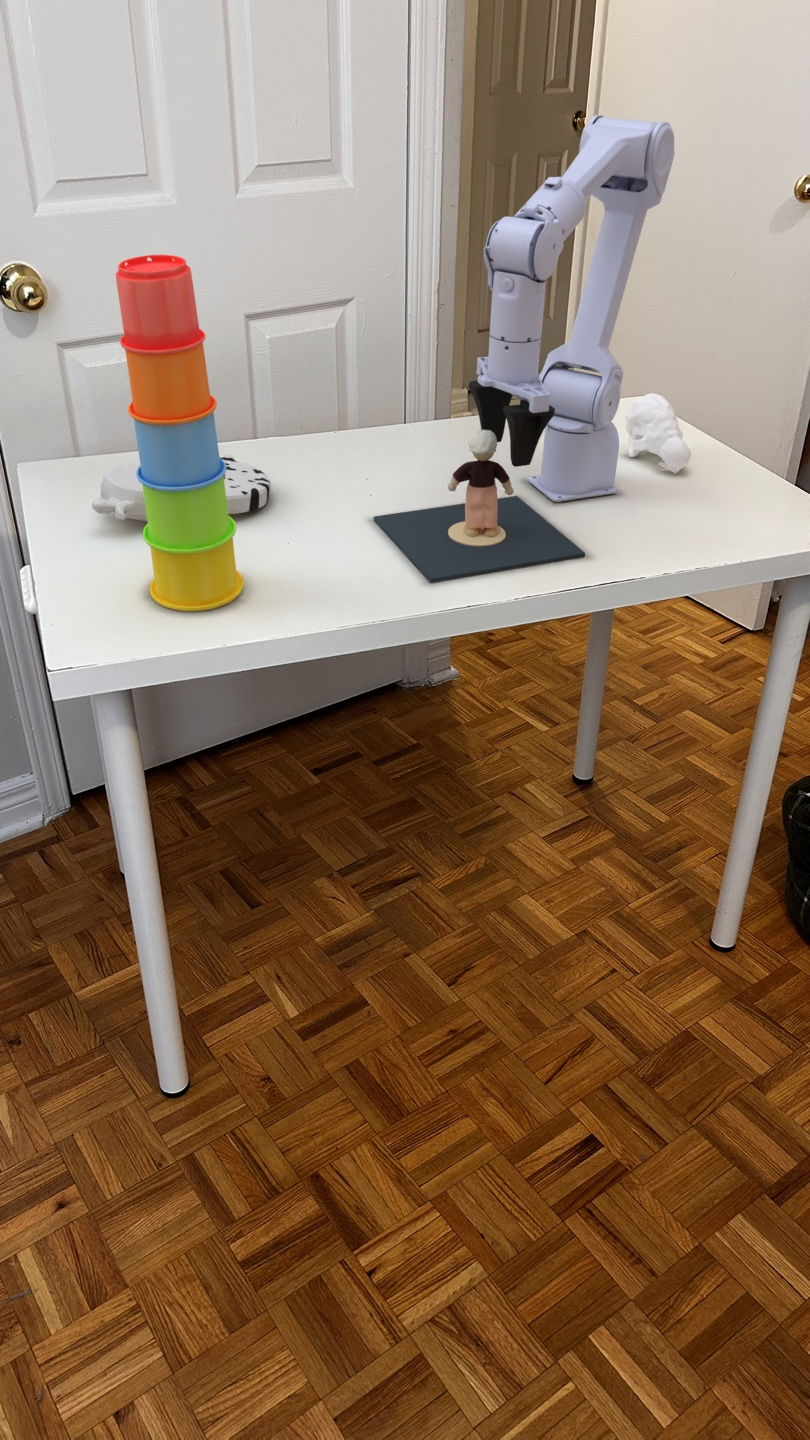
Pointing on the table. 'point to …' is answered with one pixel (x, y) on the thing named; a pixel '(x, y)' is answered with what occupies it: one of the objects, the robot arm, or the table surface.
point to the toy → (127, 496)
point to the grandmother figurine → (481, 485)
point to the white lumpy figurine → (656, 431)
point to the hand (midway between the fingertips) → (506, 453)
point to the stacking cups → (176, 437)
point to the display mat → (476, 540)
